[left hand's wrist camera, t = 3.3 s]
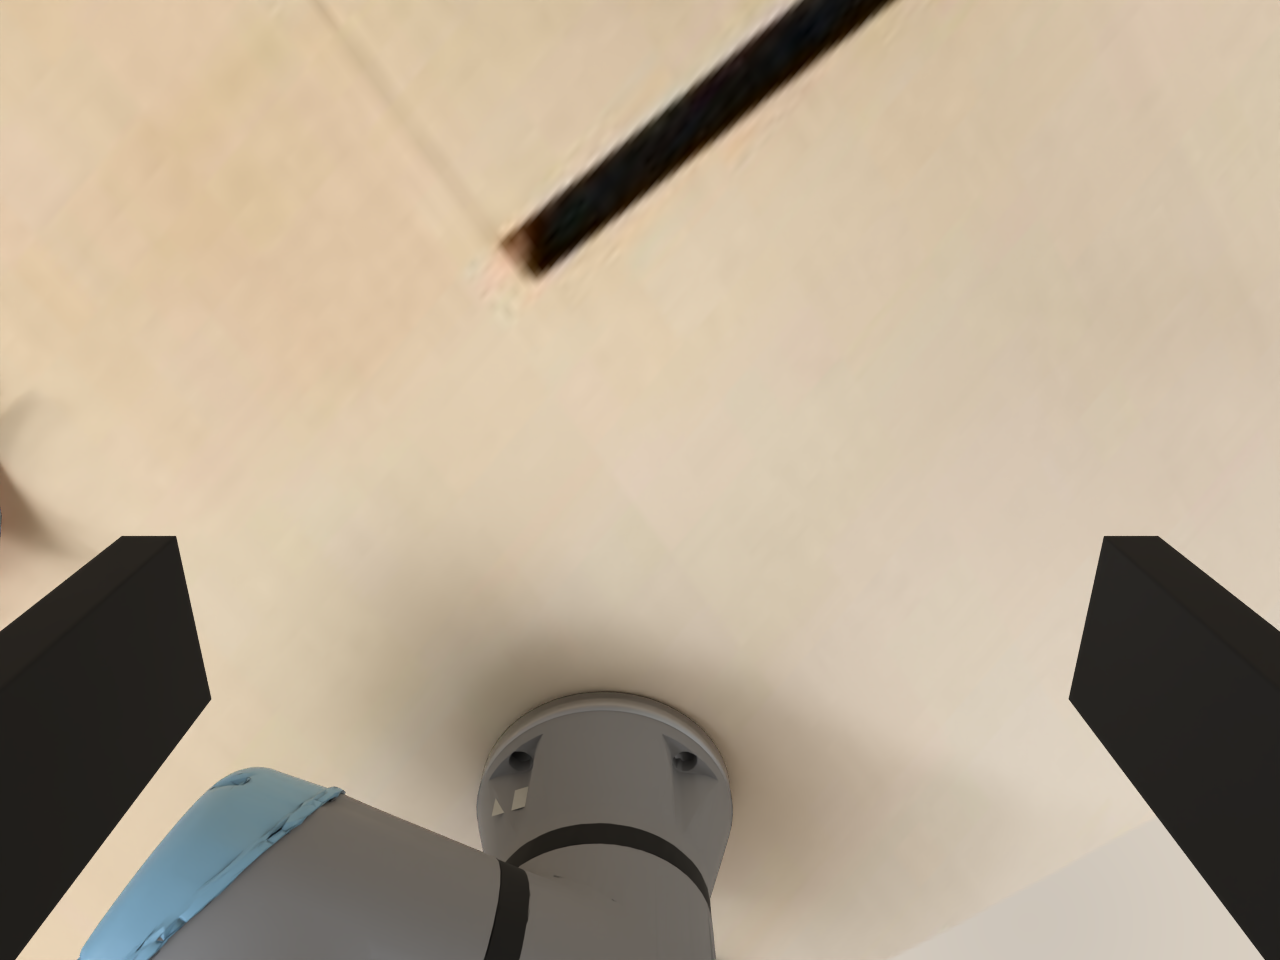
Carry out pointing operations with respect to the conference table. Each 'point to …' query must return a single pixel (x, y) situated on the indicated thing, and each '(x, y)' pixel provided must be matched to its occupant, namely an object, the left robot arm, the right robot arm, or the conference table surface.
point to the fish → (0, 521)
